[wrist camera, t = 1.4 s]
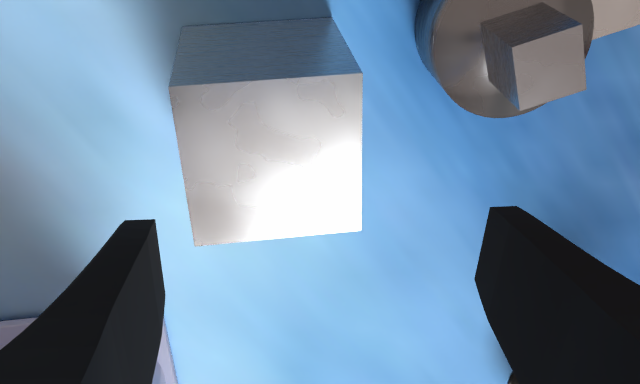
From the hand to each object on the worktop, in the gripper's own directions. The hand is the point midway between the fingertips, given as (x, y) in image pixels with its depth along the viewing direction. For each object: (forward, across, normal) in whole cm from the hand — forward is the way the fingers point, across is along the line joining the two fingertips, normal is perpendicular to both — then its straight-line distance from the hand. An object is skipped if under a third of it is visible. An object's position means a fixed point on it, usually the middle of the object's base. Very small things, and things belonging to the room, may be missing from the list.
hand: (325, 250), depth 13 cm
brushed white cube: (+10, +1, 0) cm, 10 cm away
